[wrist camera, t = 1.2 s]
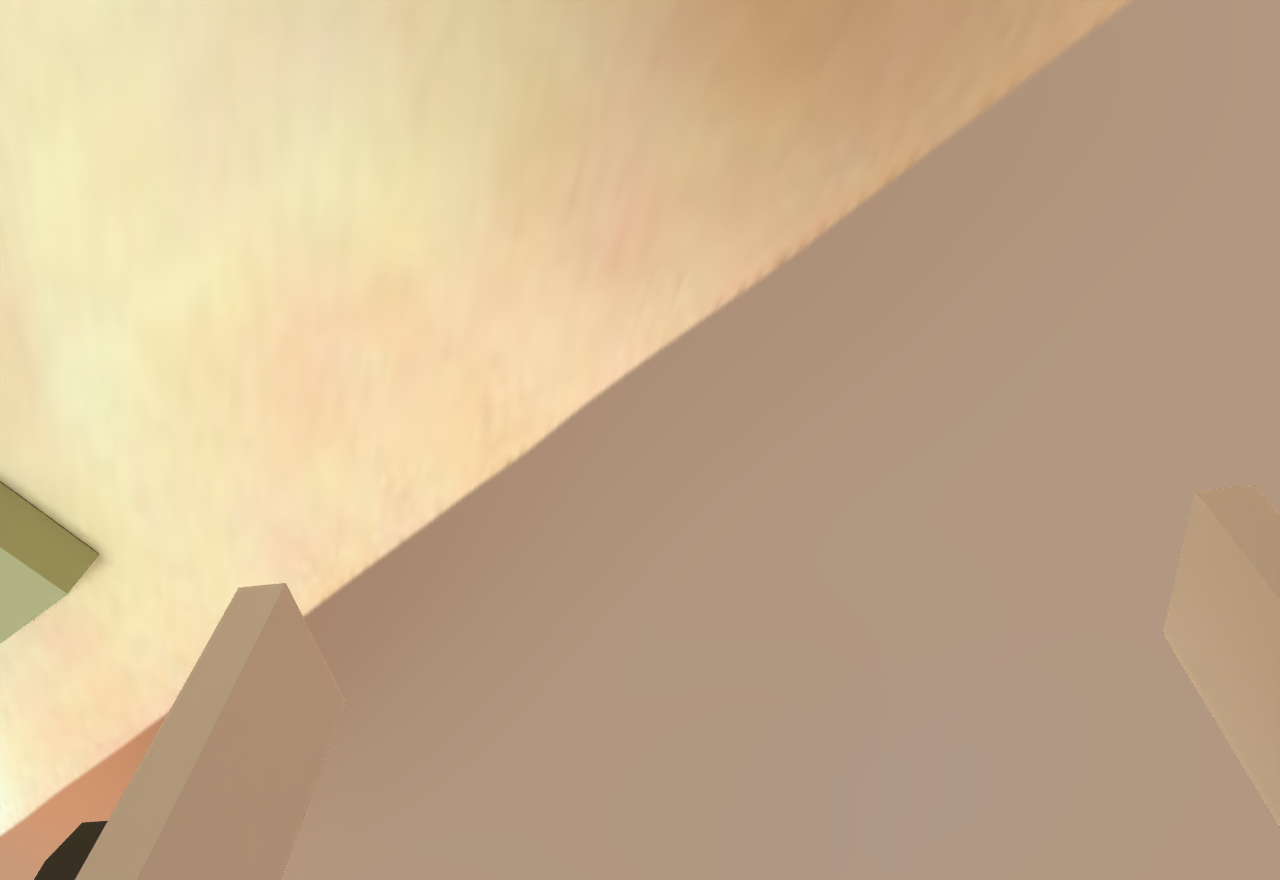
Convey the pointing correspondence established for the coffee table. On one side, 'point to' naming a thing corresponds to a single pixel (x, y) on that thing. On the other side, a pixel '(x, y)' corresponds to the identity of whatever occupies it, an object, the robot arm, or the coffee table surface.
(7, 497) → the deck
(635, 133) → the coffee table surface
